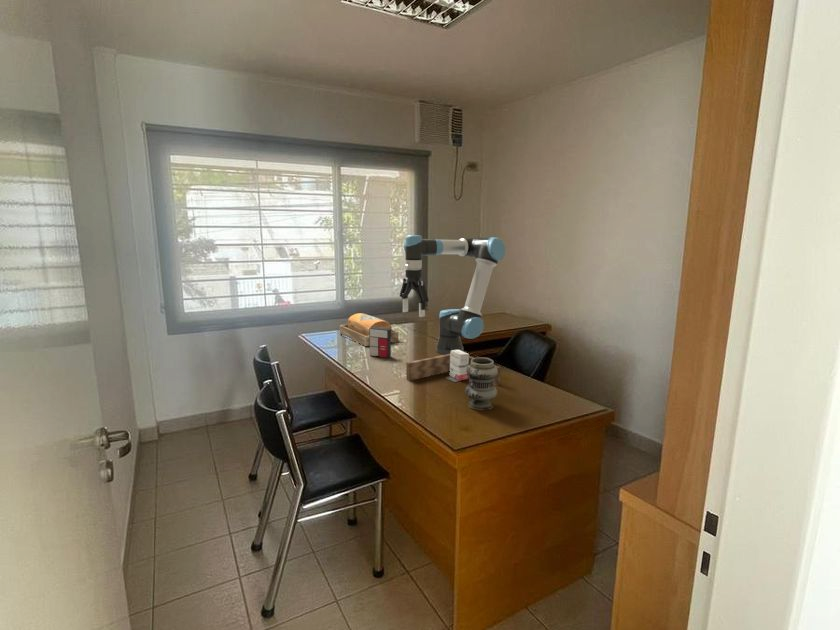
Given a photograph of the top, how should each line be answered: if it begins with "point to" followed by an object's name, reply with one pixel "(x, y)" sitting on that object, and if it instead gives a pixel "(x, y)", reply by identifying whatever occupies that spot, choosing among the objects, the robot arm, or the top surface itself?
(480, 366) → the apothecary jar
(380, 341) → the grey and red box
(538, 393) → the top surface
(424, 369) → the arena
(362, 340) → the crate
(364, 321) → the orange rounded block
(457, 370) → the ink box
